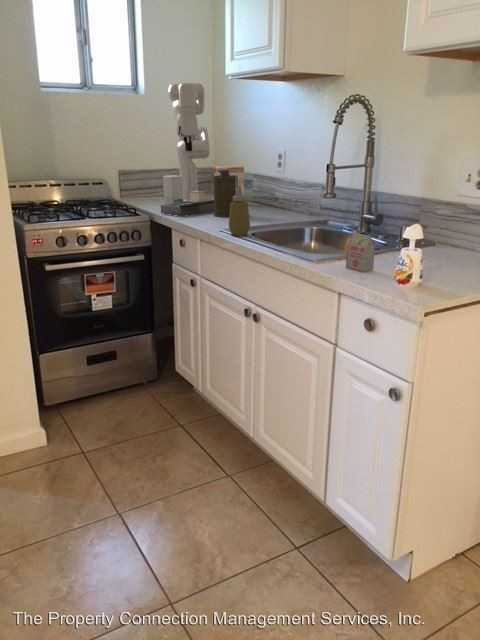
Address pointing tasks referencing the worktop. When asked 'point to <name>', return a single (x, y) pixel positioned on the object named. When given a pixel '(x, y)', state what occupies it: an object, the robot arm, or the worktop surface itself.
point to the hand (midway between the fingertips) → (188, 151)
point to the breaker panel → (188, 208)
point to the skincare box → (173, 189)
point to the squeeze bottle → (239, 215)
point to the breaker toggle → (197, 196)
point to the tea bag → (360, 253)
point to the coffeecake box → (233, 171)
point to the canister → (224, 193)
